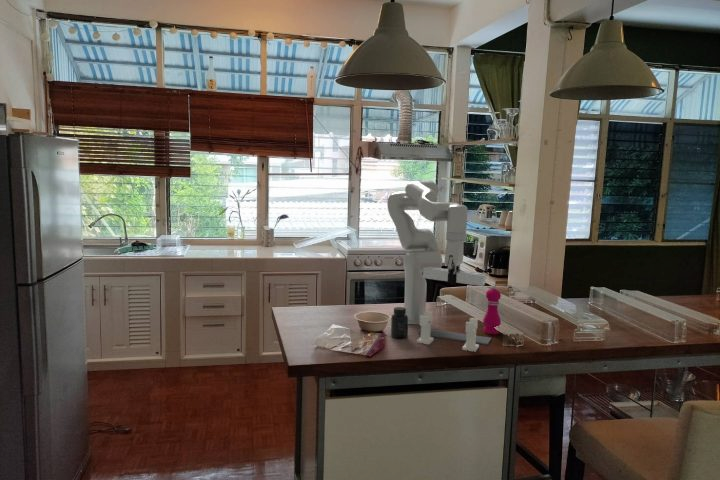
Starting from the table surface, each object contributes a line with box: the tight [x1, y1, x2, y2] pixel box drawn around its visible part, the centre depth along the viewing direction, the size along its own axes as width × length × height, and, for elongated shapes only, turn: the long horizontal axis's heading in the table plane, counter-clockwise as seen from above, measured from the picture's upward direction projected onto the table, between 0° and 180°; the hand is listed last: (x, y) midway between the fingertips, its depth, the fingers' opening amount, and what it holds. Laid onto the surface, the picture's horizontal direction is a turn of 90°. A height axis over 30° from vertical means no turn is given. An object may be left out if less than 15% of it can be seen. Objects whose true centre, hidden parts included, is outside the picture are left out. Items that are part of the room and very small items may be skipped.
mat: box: [418, 328, 493, 346], centre depth 221 cm, size 28×8×1 cm, turn 66°
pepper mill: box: [482, 284, 502, 335], centre depth 228 cm, size 7×7×20 cm
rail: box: [422, 267, 487, 287], centre depth 213 cm, size 24×4×4 cm, turn 64°
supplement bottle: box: [390, 306, 409, 341], centre depth 219 cm, size 7×7×12 cm
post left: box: [416, 311, 435, 345], centre depth 214 cm, size 5×7×11 cm
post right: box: [461, 317, 480, 353], centre depth 207 cm, size 5×7×11 cm
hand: (453, 282), depth 214 cm, fingers closed on rail, 4 cm apart
